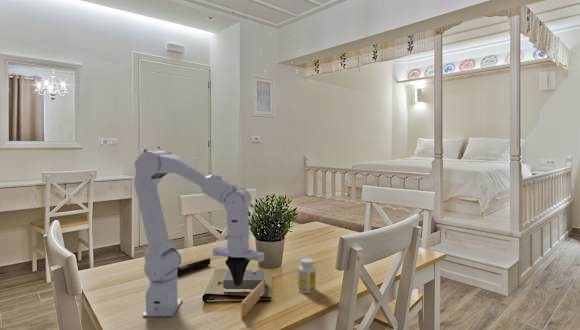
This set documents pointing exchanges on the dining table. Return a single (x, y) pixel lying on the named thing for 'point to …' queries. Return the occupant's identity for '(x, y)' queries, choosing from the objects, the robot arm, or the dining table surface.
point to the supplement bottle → (306, 276)
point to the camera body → (244, 280)
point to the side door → (252, 299)
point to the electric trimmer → (193, 266)
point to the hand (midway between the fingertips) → (238, 284)
